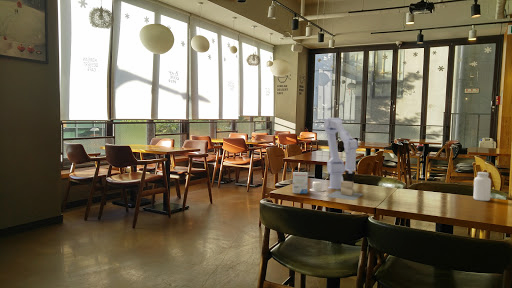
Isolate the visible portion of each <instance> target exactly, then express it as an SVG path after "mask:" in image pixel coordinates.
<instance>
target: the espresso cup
mask: <svg viewBox="0 0 512 288" xmlns="http://www.w3.org/2000/svg"><path fill="white" fill-rule="evenodd" d="M312 191H313V192H323V191H325V189H324V188H323V182H322V181H312V188H310V189H309V192H312Z"/></svg>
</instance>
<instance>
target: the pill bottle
mask: <svg viewBox="0 0 512 288" xmlns="http://www.w3.org/2000/svg"><path fill="white" fill-rule="evenodd" d="M489 175H490V174H489V172H485V171H478V172H477V175H476V177H474V179H473V195H472V196H473V199H474V200H476V201H481V202H488V201H490V200H491V191H492V190H491V188H492V187H491V186H492V179H491V178H490V177H489Z"/></svg>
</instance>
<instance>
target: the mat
mask: <svg viewBox="0 0 512 288" xmlns="http://www.w3.org/2000/svg"><path fill="white" fill-rule="evenodd" d="M363 195H364V193H359V192H353V195H345V194H341V190H336V191H333V192H331V193H329V194H328V195H326V196H324V197H325V198H333V199H340V200H341V199H342V200H350V201H355V200H357V199H358V198H360V197H362V196H363Z"/></svg>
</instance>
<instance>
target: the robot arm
mask: <svg viewBox="0 0 512 288" xmlns="http://www.w3.org/2000/svg"><path fill="white" fill-rule="evenodd" d="M323 126H324V132H325V133H326V137H327V144H328V150H329V156H330V159H329V160H328V161H327V163H326V166H327V167H326V171H327V173H328V174H329V186H328V187H327V189H334V190H341V182H342V181H344V177H343V174H344V173H345V176H346V181H350V182H354V181H353V179H354V177H355V175H356V170H357V167H356V165H357V163H356V162H357V161H356V160H357V150H358V148H359V142H358V140H357V139H355V138H353V137H352V135H351V133H350V132H349V131H347V130H345V127H344V125H343V120H342V118H341V117H325V119H324V121H323ZM337 133H338V134H339V138H340V139H341V141H342V142H343V148H344V153H345V159H344V160H345V161H344V160H343V159H341V158H340V155H339V148H338V142H337V137H336V136H337V135H336V134H337ZM344 162H345V163H344Z"/></svg>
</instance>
